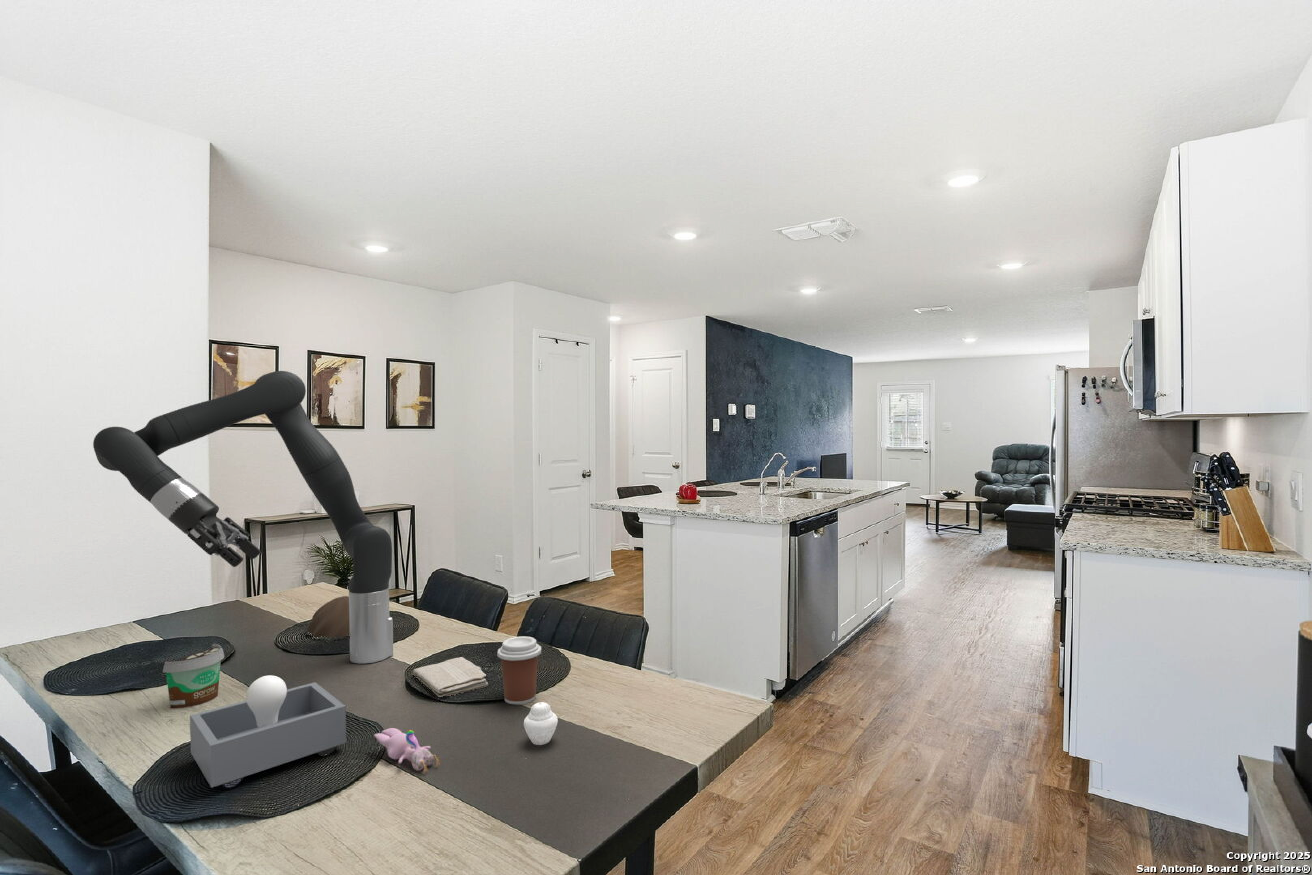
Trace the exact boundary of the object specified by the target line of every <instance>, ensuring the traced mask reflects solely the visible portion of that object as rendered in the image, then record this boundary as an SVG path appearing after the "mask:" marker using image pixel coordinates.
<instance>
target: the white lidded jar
mask: <svg viewBox="0 0 1312 875" xmlns="http://www.w3.org/2000/svg"><path fill="white" fill-rule="evenodd" d="M558 723H559V720H558V716H557V715H556V713H554V712H553V710H551V705H550V704H549V703H547V702H544V701H543V702H542V701H541V702H536V703H535V704H533V705H532V706H531V707H530V711H529V712H528V714H527V715H526V717H525V718H524V720H523V727H524V731H525V733H526V735H527V736H528V738H529V740H530V741H531V743H532V744H533V745H535V746H543V745H546V744H548V743H549V742H551V739H552V737H553V735H554V734H555V731H556V729H557V725H558Z"/></svg>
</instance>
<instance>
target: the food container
mask: <svg viewBox="0 0 1312 875" xmlns="http://www.w3.org/2000/svg"><path fill="white" fill-rule="evenodd" d="M224 658H225V653H224V648H222V646H221V645H220V644H217V643H212V645H211V648H209V649H207V650H204V651H202V652H196V653H192V654H189V655H187V656H186V657H184V658H181V659H180V660H177V661H176V660H175V661H164V665H163V669H162V673H165V675H166V682H167V691H168V692H167V693H168V699H169V700H168V701H169V708H170V709H184V708H185V709H186V708H191V707H196V706H200V705H203V704H206V703H208V702H211V701H213V700H214V699H216V698H217V697H218V695H219V686H220V685H219V684H220V675H221V663H222V662H221V661H222V660H223V659H224Z"/></svg>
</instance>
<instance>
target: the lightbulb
mask: <svg viewBox="0 0 1312 875" xmlns="http://www.w3.org/2000/svg"><path fill="white" fill-rule="evenodd" d="M287 689H288V688H287V684H286V682H285V681H284V680H283V679H282V678H281V677H279V676H276V675H263V676H260V677H259V678H257V679H256V680H254V681H253V682H252V683H251V684H250V685H249V687H248V688H247V691H246V694H245V700H246V702H247V704H248V706H249V708H250V709H251V710H252V712H253V713H254V715H255V717H256V722H257V726H258V728H259V729H260V728H263V727H266V726H270V725H273V724H276V723H277V721H278V714H279V710H280V707H281V705H282V704H283V702H284V699H285V697H286V694H287Z"/></svg>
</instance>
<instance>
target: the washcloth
mask: <svg viewBox="0 0 1312 875" xmlns="http://www.w3.org/2000/svg"><path fill="white" fill-rule="evenodd" d="M412 675H414V676H417V677H416V678H418V679H419V680H421V682H423V684H425V685H426V686H427V687H429V689H432V691H433V692H434V693H435V694H436V695H437V696H438V697H442V698H444V697H443V696H450V697H452V696H451V695H454V696H457V695H456V694H458V693H461V694H464V692H465V693H468V692H472V691H476V690H479V689H483V688H485V687H487V686H488V685H489V683H488V681H487V680H486V676H487V674H486V673H484V671H482V668H481V666H478V665H475V664H474V663H473V662H471V661H470V660H468V659H466V658H465V657H463V656H460V657H454V658H451V659H446V660H445V661H442V662H439V663H435V664H433V663H432V664H429V665H424V666H421V667H418V668H414V669H413V671H412V673H411V676H412ZM429 689H428V690H429ZM475 689H476V690H475ZM471 690H472V691H471ZM458 695H459V694H458Z"/></svg>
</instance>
